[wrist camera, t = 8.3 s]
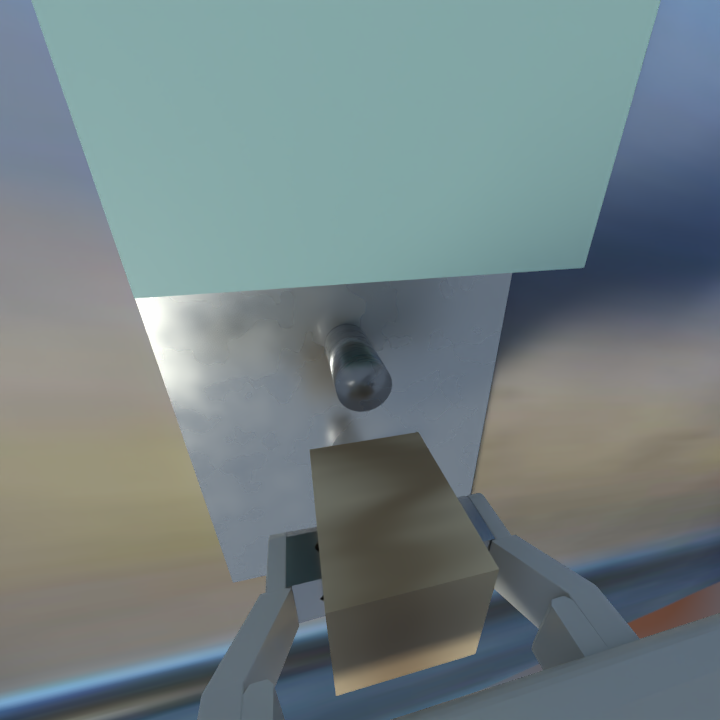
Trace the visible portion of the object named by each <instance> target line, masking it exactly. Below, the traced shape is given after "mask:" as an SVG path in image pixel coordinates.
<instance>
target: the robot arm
mask: <svg viewBox="0 0 720 720" xmlns="http://www.w3.org/2000/svg"><path fill="white" fill-rule="evenodd" d="M457 498H458V500H459V502H460V503H461V505H462V507H463V508H464V510H465V512H466V513H467V515H468V517H469V519H470V520H471V522H472V524H473V525H474V527H475V529H476V530H477V532H478V534H479V535H480V537H481V539H482V541H483V542H484V544H485V546H486V547H487V549H488V551H489V552H490V554H491V556H492V558H493V559H494V561H495V563H496V564H497V566H498V568H499V572H498V576H497V579H496V583H495V586H494V589H495V590H496V591H497V592H498V593H500V594H501V595H502V596H503V597H504V598H505V599H506V600H507V601H508V602H510V603H511V604H512V605H513V606H514V607H515V608H516V609H517V610H519V611H520V612H521V613H522V614H523V615H524V616H525V617H526V618H527V619H529V620H530V621H531V622H532V623H533V624H534V625H535V626H536V627H537V628H539V630H538V632H537V635H536V637H535V639H534V642H533V645H532V651H533V653H534V654H535V656H536V658H537V660H538V662H539V664H540V665H541V667H542V669H543V671H540V672H537V673H534V674H531V675H528V676H525V677H521V678H518V679H515V680H512V681H509V682H506V683H503V684H500V685H497V686H494V687H491V688H488V689H485V690H481V691H478V692H475V693H472V694H469V695H466V696H463V697H460V698H457V699H454V700H451V701H448V702H445V703H441V704H438V705H435V706H432V707H429V708H426V709H423V710H420V711H417V712H414V713H411V714H408V715H404V716H401V717H398V718H395V719H392V720H720V613H718V614H715V615H712V616H710V617H706V618H703V619H700V620H697V621H694V622H691V623H688V624H685V625H682V626H678V627H675V628H672V629H669V630H666V631H663V632H660V633H657V634H654V635H651V636H648V637H645V638H641V639H639V638H638V636H637V635H636V634H635V633H634V631H633V630H632V629H631V628H630V626H629V625H628V624H627V623H626V622H625V620H624V619H623V618H622V617H621V615H620V614H619V613H618V612H617V611H616V609H615V608H614V607H613V606H612V604H611V603H610V602H609V601H608V600H607V598H606V597H605V596H604V595H603V594H602V592H601V591H600V590H599V589H598V587H597V586H596V585H594V584H593V583H591V582H589V581H588V580H586V579H585V578H583V577H581V576H580V575H578V574H577V573H575V572H574V571H572V570H570V569H569V568H567V567H566V566H564V565H562V564H561V563H559V562H558V561H556V560H555V559H553V558H551V557H550V556H548V555H547V554H545V553H543V552H542V551H540V550H539V549H537V548H536V547H534V546H532V545H531V544H529V543H528V542H526V541H524V540H523V539H521V538H520V537H518V536H517V535H512V536H511V534H510V533H509V531H508V530H507V529H506V527H505V526H504V524H503V523H502V521H501V520H500V519H499V517H498V516H497V514H496V513H495V511H494V510H493V508H492V507H491V506H490V504H489V503H488V501H487V500H486V498H485V497H484V496H483V495H482V494H481V493H476V494H472V495H468V496H460V497H457ZM323 616H326V615H325V605H324V595H323V585H322V574H321V564H320V554H319V543H318V533H317V527H312V528H306V529H301V530H295V531H290V532H284V533H279V534H274V535H270V537H269V541H268V556H267V575H266V593H264V594H260V596H259V597H258V599H257V601H256V603H255V604H254V606H253V608H252V610H251V611H250V613H249V615H248V616H247V618H246V620H245V622H244V623H243V625H242V627H241V628H240V630H239V632H238V634H237V635H236V637H235V639H234V640H233V642H232V644H231V646H230V647H229V649H228V651H227V653H226V654H225V656H224V658H223V659H222V661H221V663H220V665H219V666H218V668H217V670H216V671H215V673H214V675H213V677H212V678H211V680H210V682H209V683H208V685H207V687H206V689H205V690H204V692H203V694H202V696H201V702H200V707H199V713H198V719H197V720H285V719H284V716H283V713H282V710H281V706H280V703H279V700H278V697H277V694H276V690H275V685H276V683H277V680H278V678H279V675H280V673H281V670H282V668H283V665H284V663H285V660H286V657H287V655H288V652H289V650H290V647H291V645H292V642H293V640H294V637H295V635H296V632H297V630H298V627H299V623H302V622H305V621H309V620H312V619H316V618H319V617H323Z"/></svg>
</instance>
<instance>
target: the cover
mask: <svg viewBox="0 0 720 720" xmlns="http://www.w3.org/2000/svg"><path fill="white" fill-rule="evenodd" d="M660 1H661V0H32V3H33V6H34V9H35V12H36V15H37V18H38V21H39V24H40V26H41V29H42V32H43V35H44V38H45V41H46V44H47V47H48V50H49V53H50V55H51V58H52V61H53V64H54V67H55V70H56V73H57V76H58V79H59V81H60V84H61V87H62V90H63V93H64V96H65V99H66V102H67V105H68V108H69V110H70V113H71V116H72V119H73V122H74V125H75V128H76V131H77V134H78V136H79V139H80V142H81V145H82V148H83V151H84V154H85V157H86V160H87V163H88V165H89V168H90V171H91V174H92V177H93V180H94V183H95V186H96V189H97V191H98V194H99V197H100V200H101V203H102V206H103V209H104V212H105V215H106V218H107V220H108V223H109V226H110V229H111V232H112V235H113V238H114V241H115V244H116V246H117V249H118V252H119V255H120V258H121V261H122V264H123V267H124V270H125V273H126V275H127V278H128V281H129V284H130V287H131V290H132V293H133V296H134V299H135V298H150V297H164V296H179V295H194V294H208V293H223V292H238V291H252V290H267V289H282V288H296V287H311V286H326V285H340V284H355V283H370V282H384V281H399V280H413V279H428V278H443V277H457V276H472V275H487V274H501V273H516V272H531V271H545V270H560V269H575V268H584V266H585V263H586V259H587V256H588V252H589V249H590V245H591V242H592V238H593V235H594V231H595V228H596V224H597V221H598V217H599V214H600V210H601V207H602V203H603V200H604V196H605V193H606V189H607V186H608V182H609V179H610V175H611V172H612V168H613V165H614V161H615V158H616V154H617V151H618V147H619V144H620V140H621V137H622V133H623V130H624V126H625V123H626V120H627V116H628V113H629V109H630V106H631V102H632V99H633V95H634V92H635V88H636V85H637V81H638V78H639V74H640V71H641V67H642V64H643V60H644V57H645V53H646V50H647V46H648V43H649V39H650V36H651V32H652V29H653V25H654V22H655V18H656V15H657V11H658V8H659V4H660Z"/></svg>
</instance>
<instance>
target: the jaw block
mask: <svg viewBox="0 0 720 720" xmlns="http://www.w3.org/2000/svg"><path fill="white" fill-rule="evenodd" d="M310 460H311V470H312V481H313V491H314V502H315V512H316V522H317V533H318V543H319V554H320V564H321V574H322V585H323V595H324V605H325V615H326V623H327V630H328V638H329V645H330V653H331V660H332V668H333V675H334V682H335V690H336V696H338V695H341V694H344V693H347V692H351V691H354V690H357V689H361V688H364V687H367V686H371V685H374V684H377V683H380V682H384V681H387V680H390V679H394V678H397V677H400V676H404V675H407V674H410V673H413V672H417V671H420V670H423V669H427V668H430V667H433V666H437V665H440V664H443V663H447V662H450V661H453V660H456V659H460V658H463V657H466V656H470V655H473V654H475V653H476V649H477V646H478V642H479V639H480V635H481V632H482V628H483V625H484V621H485V618H486V614H487V611H488V607H489V604H490V600H491V597H492V593H493V590H494V586H495V583H496V579H497V576H498V572H499V568H498V566H497V564H496V563H495V561H494V559H493V558H492V556H491V554H490V552H489V551H488V549H487V547H486V546H485V544H484V542H483V541H482V539H481V537H480V535H479V534H478V532H477V530H476V529H475V527H474V525H473V524H472V522H471V520H470V519H469V517H468V515H467V513H466V512H465V510H464V508H463V507H462V505H461V503H460V502H459V500H458V498H457V497H456V495H455V493H454V491H453V490H452V488H451V486H450V485H449V483H448V481H447V480H446V478H445V476H444V474H443V473H442V471H441V469H440V468H439V466H438V464H437V463H436V461H435V459H434V458H433V456H432V454H431V452H430V451H429V449H428V447H427V446H426V444H425V442H424V441H423V439H422V437H421V436H420V434H419V432H415V433H409V434H403V435H397V436H391V437H384V438H378V439H372V440H366V441H360V442H353V443H347V444H341V445H335V446H328V447H322V448H316V449H310Z"/></svg>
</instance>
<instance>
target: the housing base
mask: <svg viewBox="0 0 720 720" xmlns="http://www.w3.org/2000/svg"><path fill="white" fill-rule="evenodd" d="M511 277H512V273H501V274H487V275H472V276H457V277H443V278H428V279H413V280H399V281H384V282H370V283H355V284H340V285H326V286H311V287H296V288H282V289H267V290H252V291H238V292H223V293H208V294H194V295H179V296H164V297H150V298H135V299H136V302H137V305H138V307H139V310H140V313H141V316H142V319H143V322H144V325H145V328H146V331H147V334H148V337H149V339H150V342H151V345H152V348H153V351H154V354H155V357H156V360H157V363H158V366H159V369H160V371H161V374H162V377H163V380H164V383H165V386H166V389H167V392H168V395H169V398H170V400H171V403H172V406H173V409H174V412H175V415H176V418H177V421H178V424H179V427H180V430H181V432H182V435H183V438H184V441H185V444H186V447H187V450H188V453H189V456H190V459H191V461H192V464H193V467H194V470H195V473H196V476H197V479H198V482H199V485H200V488H201V491H202V493H203V496H204V499H205V502H206V505H207V508H208V511H209V514H210V517H211V520H212V523H213V525H214V528H215V531H216V534H217V537H218V540H219V543H220V546H221V549H222V552H223V554H224V557H225V560H226V563H227V566H228V569H229V572H230V575H231V578H232V581H233V582H238V581H242V580H247V579H251V578H256V577H260V576H265V575H267V556H268V541H269V537H270V535H274V534H279V533H284V532H290V531H295V530H301V529H306V528H312V527H317V522H316V512H315V502H314V491H313V481H312V470H311V460H310V449H316V448H322V447H328V446H335V445H341V444H347V443H353V442H360V441H366V440H372V439H378V438H384V437H391V436H397V435H403V434H409V433H415V432H419V434H420V436H421V437H422V439H423V441H424V442H425V444H426V446H427V447H428V449H429V451H430V452H431V454H432V456H433V458H434V459H435V461H436V463H437V464H438V466H439V468H440V469H441V471H442V473H443V474H444V476H445V478H446V480H447V481H448V483H449V485H450V486H451V488H452V490H453V491H454V493H455V495H456V497H460V496H468V495H470V494H471V489H472V483H473V478H474V473H475V468H476V462H477V457H478V452H479V446H480V441H481V436H482V431H483V425H484V420H485V415H486V409H487V404H488V399H489V394H490V388H491V383H492V378H493V372H494V367H495V362H496V356H497V351H498V346H499V341H500V335H501V330H502V325H503V319H504V314H505V309H506V304H507V298H508V293H509V288H510V282H511Z"/></svg>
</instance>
